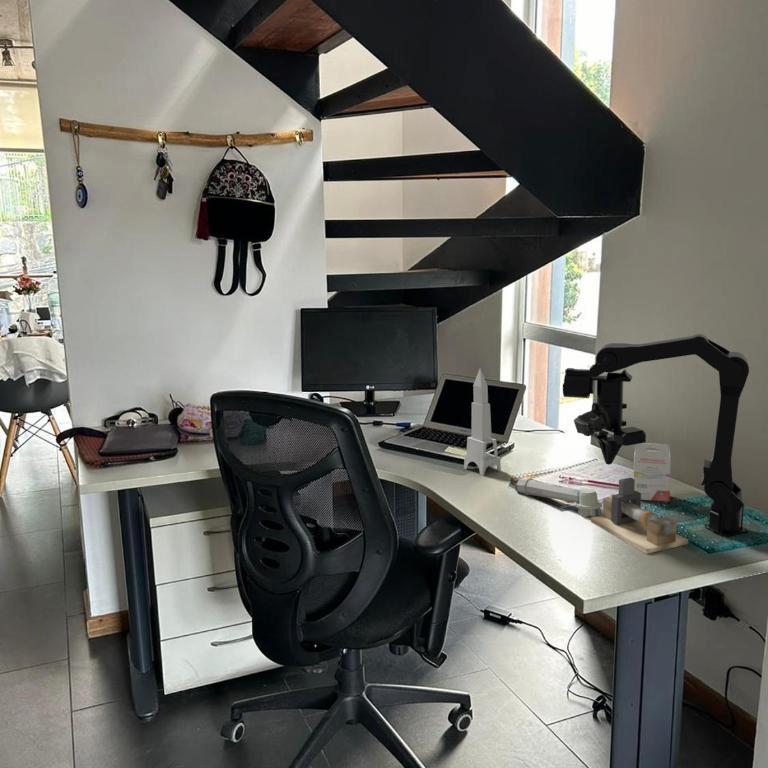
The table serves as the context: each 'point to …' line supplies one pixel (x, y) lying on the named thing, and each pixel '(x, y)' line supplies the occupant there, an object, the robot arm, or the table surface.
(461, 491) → the table surface
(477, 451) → the sculpture
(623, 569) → the table surface
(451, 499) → the table surface
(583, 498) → the grey piece
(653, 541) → the pipe stand
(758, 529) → the table surface
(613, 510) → the collar
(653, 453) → the ink cartridge box
